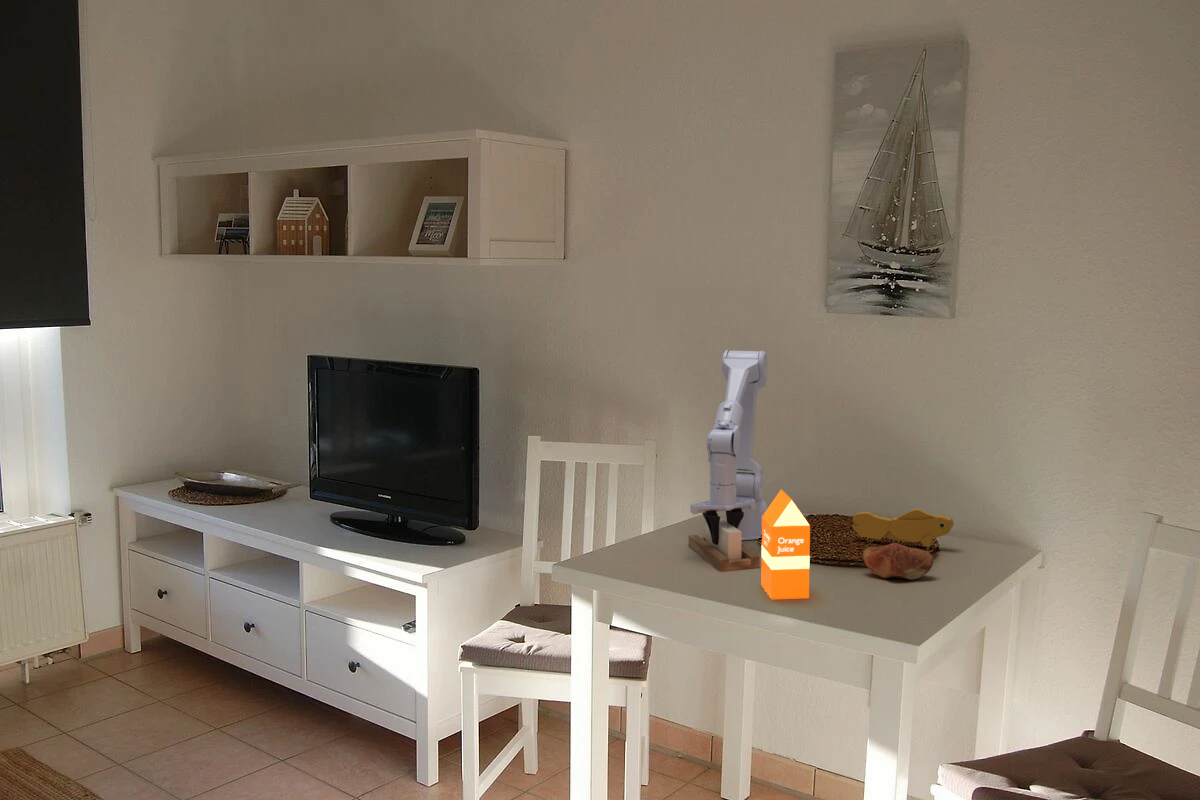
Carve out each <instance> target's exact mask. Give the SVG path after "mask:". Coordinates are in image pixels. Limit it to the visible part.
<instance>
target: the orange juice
mask: <svg viewBox="0 0 1200 800" xmlns="http://www.w3.org/2000/svg"><path fill="white" fill-rule="evenodd" d="M810 542H811V525H810V524H809V522H808V521H807V519H806V517H805V516H804V515H803V514H802V512H801V510H800V509H799V508H798V506H797V504H796V503H795V502H794V501H793V499H792V498H791V497H790V496H789V495H788V494H787V493H786V492H785V491H784V490H782V489H780V491H778V493H777V495H776V496H775V498H774V499H773V500H772V502H771V503H770V504H769V506H767V510H766V512H765V513H764V515H763V516H762V539H761V552H760V553H761V556H760V558H761V567H760V568H761V571H760V572H761V577H760V578H761V579H760V581H761V582H760V583H761V585H762V586H761V587H762V589H763V588H764V589H763V590H764V591H765V593H766V592H767V593H766V594H767V596H768V595H769V596H768V597H769V599H770V598H771V599H770V600H792V599H793V600H794V599H795V600H796V599H798V600H799V599H809V598H810V567H811V566H810V560H811V556H810V549H811V548H810V545H811V543H810Z"/></svg>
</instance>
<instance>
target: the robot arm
mask: <svg viewBox="0 0 1200 800" xmlns="http://www.w3.org/2000/svg"><path fill="white" fill-rule="evenodd" d="M768 365H769V364H768V355H767V353H766V352H765V350H757V351H756V350H730V349H726V350H725V351H724V352H723V354H722V358H721V371H722V374H723V376H724V379H725V381H726V389H725V398H724V401H723V402H720V404H719V405H718V407H717V412H716V416H715V419H714V425H713V427H712V430H708V433H707V437H706V451H707V461H708V463H709V500H707V501H702V502H695V503H690V513H691V514H692V515H698V514H702V516H703V517H704V521H705V523H706V522H707V524H708V527H709V530H710V534H711V538H712V543H714V544H715V545H718V542H719V522H720V518H721V516H720V515H719V513H717V512H725V513H724V515H725V519H724V520H725V521H726V522H728V523H729V524H731V525H732V526H734V527H735V528H737V529H738V530H740V531H741V532H742V535H741V541H749V540H750V541H752V540H760V539H759V538H760V536H761V535H762V516H763V515H764V513H765V512H766V510H767V509H768V506H767V503H766V501H765V499H763V498H762V497H763V493H764V488H765V487H764V480H765V479H764V470H763V466H761V465H760V464H759V463H758V461H757V462H756V460H754V459H753V453H754V452H753V451H754V438H755V425H756V424H755V423H756V414H757V413H756V411H757V399H758V395H759V390H761V389H762V388H765V387H766V383H767V381H768V380H767V377H768Z"/></svg>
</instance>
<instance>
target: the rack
mask: <svg viewBox="0 0 1200 800" xmlns="http://www.w3.org/2000/svg"><path fill="white" fill-rule="evenodd" d="M688 547H689V548H690V549H692V550H693V551H694V552H695V553H696V554H698V555H699V556H700V557H702V558H703V560H705V561H707V562H708V563H709V564H710V565H712V566H713V567H714V568H715V569H716V570H718V571H719V572H727V571H729V572H730V571H738V570H749V569H759V568H761V567H760V565H761V563H760V561H761V556H760V555H759V554H757V553H756V552H754V551H753V550H751V549H750V548H749V547H747V546H746V545H744V544H743V543H741V559H733V560H729V559H728V558H727V557H726V556H724V555H723V554H722V553H720V552H719V551H718V550H716V549H715V548H714V547H712V546H711V545H710V544H708V543H707V542H706V541H705V536H699V535H698V534H690V535H688Z"/></svg>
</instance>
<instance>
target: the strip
mask: <svg viewBox="0 0 1200 800" xmlns="http://www.w3.org/2000/svg"><path fill="white" fill-rule="evenodd" d="M741 535H742V532H741V531H740V530H738V529H737V528H735V527H734V526H732V525H731V524H729V523H728V522H726V521H725V519H723V518H722V517H720V522H719V542H718V545H715V544H714V543H712V538H711V534H710V530H709V527H708V524H707V522H706V521H705V536H704V537H705V541H706V542H707V543H708V544H710V545H711V546H712V547H714V548H715V549H716V550H718V551H719V552H720V553H722V554H723V555H724V556H726V557H727V558H728V559H729V560H736V559H741V544H742V540H741Z"/></svg>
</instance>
